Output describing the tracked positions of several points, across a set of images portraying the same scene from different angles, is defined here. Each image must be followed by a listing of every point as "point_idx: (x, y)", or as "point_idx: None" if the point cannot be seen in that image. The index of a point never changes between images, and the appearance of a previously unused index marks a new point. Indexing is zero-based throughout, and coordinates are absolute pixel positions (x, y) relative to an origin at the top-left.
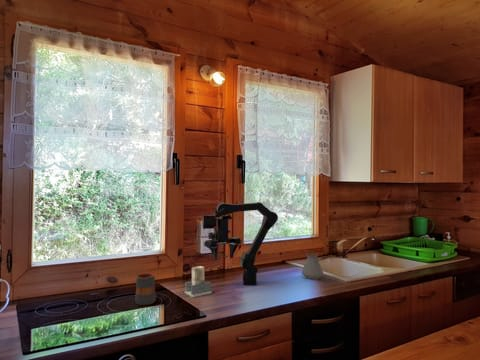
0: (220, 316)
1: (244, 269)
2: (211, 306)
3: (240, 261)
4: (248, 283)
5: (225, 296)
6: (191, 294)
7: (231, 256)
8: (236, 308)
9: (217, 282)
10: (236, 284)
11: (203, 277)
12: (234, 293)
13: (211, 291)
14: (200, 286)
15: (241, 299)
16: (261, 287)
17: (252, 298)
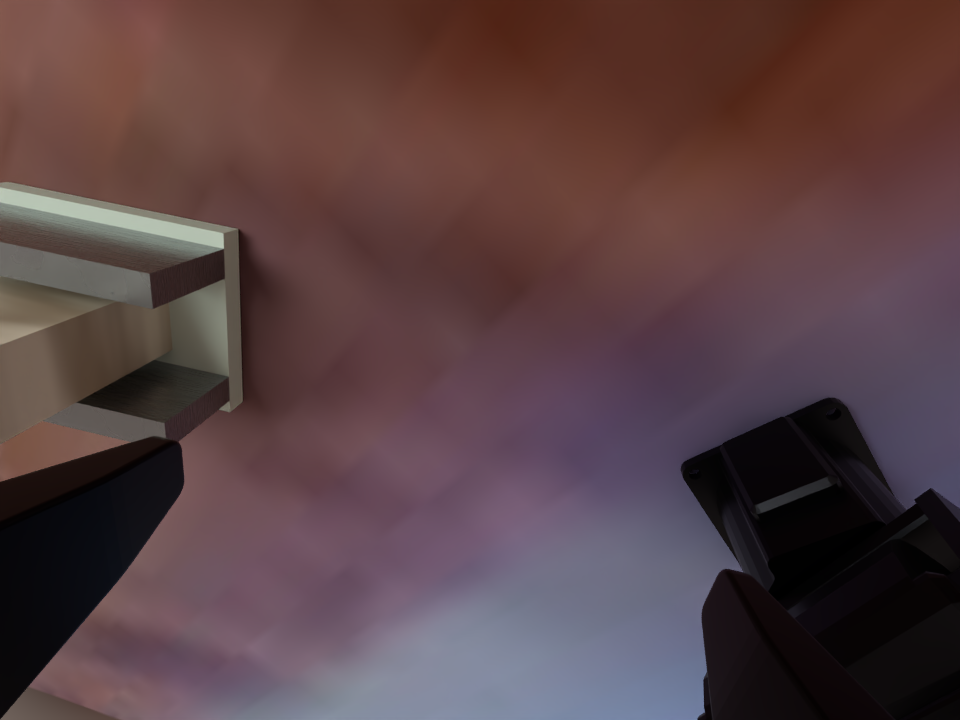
0: (83, 700)
1: (916, 502)
2: None
3: (880, 648)
4: (719, 515)
5: (293, 539)
6: None
7: (709, 687)
8: (218, 704)
9: (558, 126)
10: (651, 388)
11: (25, 419)
12: (403, 548)
13: (228, 410)
14: None
15: (347, 654)
16: None
17: (423, 694)
